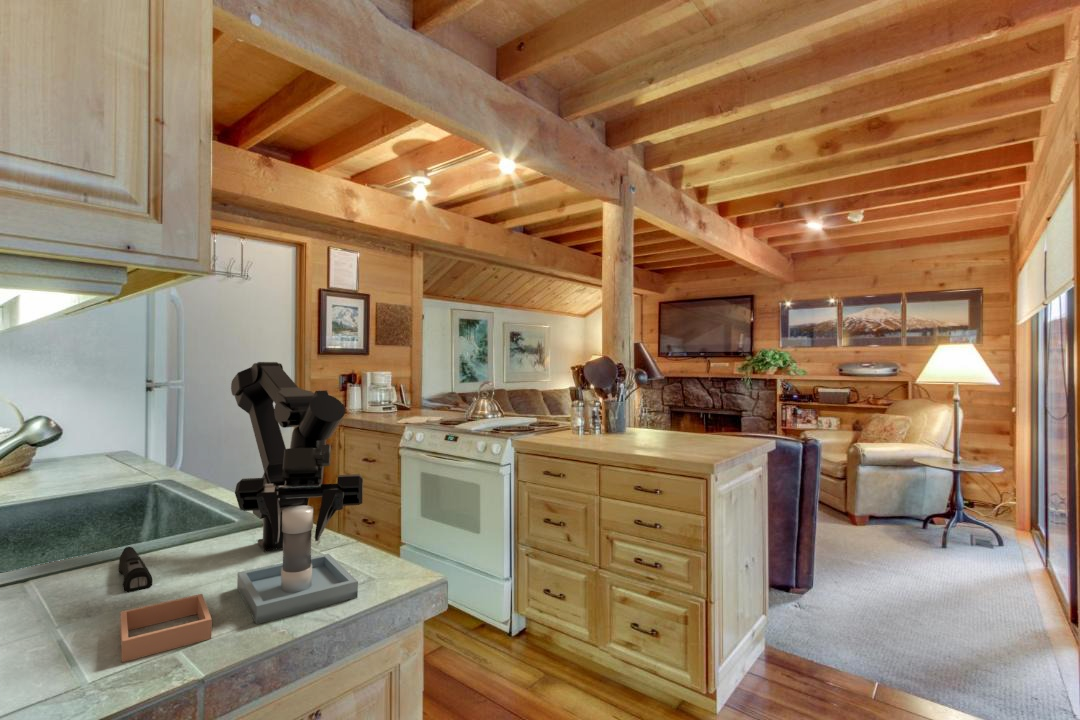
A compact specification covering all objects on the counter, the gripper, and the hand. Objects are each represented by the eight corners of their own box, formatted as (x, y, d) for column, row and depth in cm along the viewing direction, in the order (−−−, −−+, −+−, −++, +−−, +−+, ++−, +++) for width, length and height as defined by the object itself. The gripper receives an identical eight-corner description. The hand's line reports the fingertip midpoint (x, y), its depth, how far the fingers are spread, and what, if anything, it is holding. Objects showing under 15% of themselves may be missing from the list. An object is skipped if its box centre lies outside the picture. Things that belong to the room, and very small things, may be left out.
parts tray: (237, 588, 85) (237, 572, 85) (328, 567, 93) (328, 553, 93) (256, 624, 74) (256, 606, 74) (357, 597, 82) (357, 581, 82)
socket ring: (120, 630, 71) (120, 611, 71) (201, 611, 77) (202, 593, 77) (121, 662, 64) (122, 641, 64) (211, 638, 70) (211, 619, 70)
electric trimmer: (141, 560, 96) (142, 543, 96) (153, 589, 84) (153, 568, 84) (115, 566, 93) (115, 547, 93) (123, 596, 82) (123, 575, 82)
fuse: (277, 584, 84) (278, 508, 83) (307, 577, 87) (308, 503, 86) (285, 595, 80) (286, 516, 80) (315, 587, 83) (316, 510, 83)
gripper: (239, 428, 84) (217, 519, 74) (364, 426, 90) (360, 511, 79) (249, 467, 92) (231, 555, 82) (364, 463, 97) (360, 545, 87)
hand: (296, 541), depth 82 cm, fingers open, 5 cm apart
